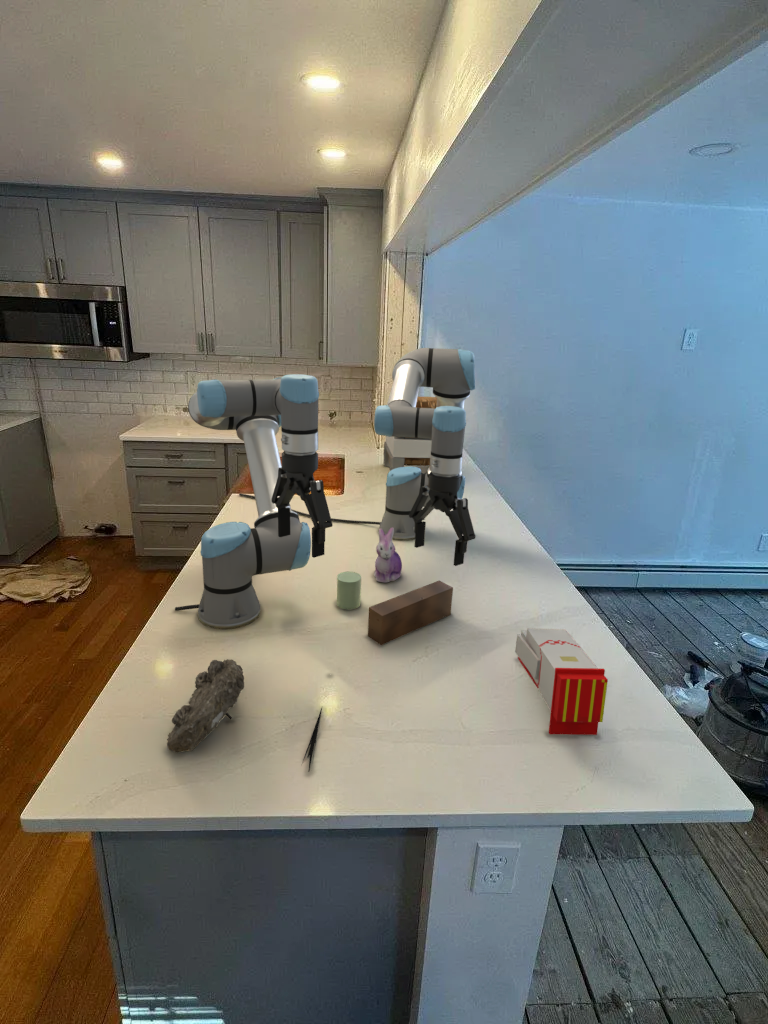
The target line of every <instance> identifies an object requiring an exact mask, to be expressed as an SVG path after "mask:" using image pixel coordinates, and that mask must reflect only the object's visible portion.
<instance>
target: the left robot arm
mask: <svg viewBox="0 0 768 1024" xmlns="http://www.w3.org/2000/svg"><path fill="white" fill-rule="evenodd" d="M196 386H197V388H196V392H194V393H193V394H192V395H191V396H190V399H189V400H188V403H187V410H188V413H189V414H188V415H189V416H190V418H191V419H192V420H193V422H195V423H196V424H197V425H199V426H201V427H204V428H206V429H211V430H216V431H235V432H236V436H237V438H238V439H239V440H241V441H243V443H244V448H245V453H246V459H247V464H248V470H249V474H250V479H251V484H252V490H253V496H255V499H254V501H255V506H256V510H257V516H258V517H257V518H256V519H255V521H254V522H253V527H251V526H250V525H249V524H248V523H246V522H244V521H238V522H237V521H228V522H223V523H219V524H216V525H213V526H212V527H209V528H208V529H207V530H206V531H205V532H203V534H202V536H201V539H200V556H201V563H202V576H203V577H202V579H203V590H202V593H201V598H200V601H199V604H190V605H189V604H188V605H181V606H176V607H174V611H175V612H180V611H187V610H195V609H197V617H198V620H199V622H200V623H201V624H202V625H203V626H205V627H208V628H210V629H214V630H215V629H216V630H232V629H233V630H234V629H238V628H239V629H240V628H243V627H246V626H248V625H250V624H253V622H255V621H257V620H258V618H259V617H260V615H261V612H262V611H261V602H260V600H259V597H258V594H257V592H256V590H255V588H254V586H253V585H254V584H253V576H256V575H257V576H258V575H266V574H271V573H272V574H273V573H279V572H287V571H289V572H291V571H293V570H297V569H302V568H304V567H306V566H307V564H308V563H309V560H310V558H313V559H315V558H317V557H321V556H325V543H326V529H328V528H332V527H333V521H331V518H332V516H331V514H330V509H329V505H328V502H327V497H326V493H325V488H324V487H325V486H324V481H323V479H318V480H315V477H314V474H315V472H316V471H317V470H318V469H319V453H318V452H317V451H318V450H319V398H320V392H319V381H318V379H317V378H316V376H314V375H311V374H310V375H309V374H300V373H299V374H298V373H295V374H292V373H291V374H285V375H282V376H280V377H279V376H278V377H274V378H273V379H272V378H271V379H208V380H207V379H206V380H200V381H199V382H198V383H197V385H196ZM280 427H281V428H280ZM279 431H281V438H280V441H281V450H282V453H281V455H280V452H279V451H280V450H279V446H278V443H277V437H276V435H278V433H279ZM295 495H297V496H298V497H299V498H300V500H301V501H303V502H304V504H305V507H306V509H307V512H308V514H309V515H310V517H309V518H310V520H311V522H312V525H313V527H311V528H310V526H309V523H307V522H305V521H301V520H300V515H299V514H297V513H295V512H294V511H292V510H293V509H292V507H291V501H292V499H293V498H294V497H295ZM291 509H292V510H291ZM310 556H311V557H310Z"/></svg>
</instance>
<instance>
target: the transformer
mask: <svg viewBox="0 0 768 1024" xmlns="http://www.w3.org/2000/svg"><path fill="white" fill-rule="evenodd" d="M436 407H437V398H436V397H435V396H419V395H418V396H417V402H416V408H432V409H435V408H436ZM431 442H432V439H424V438H410V437H392V436H391V437H388V436H385V438H384V442H383V466H384V467H388V468H389V472H390V471H391V470H393V469H396V468H399V467H405V466H406V467H417V466H418V467H430V455H431Z"/></svg>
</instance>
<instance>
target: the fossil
mask: <svg viewBox="0 0 768 1024" xmlns="http://www.w3.org/2000/svg"><path fill="white" fill-rule="evenodd" d="M243 670H244V669H243V667H242V665H240V664H237V662H236V661H235V660H234V659H232V658H231V659H227V658H226V659H224V660H223V661H222V660H217V659H212V660H211V661H210V663H209V665H208V666H207V671H201V672H199V673H198V674H197V675H196V676H195V680H194V684H195V685H194V687H195V689H194V690H193V693H192V694H191V697H190V698H189V700H188V704H184V705H182V706H181V707H180V709H177V710H176V711H175V713H174V715H173V716H172V718H171V723H172V724H173V727H172V730H171V731H170V732H168V734H167V738H166V741H167V742H166V745H167V749H168V750H169V751H173V752H174V753H176V754H178V753H182V752H188V751H189V752H192V751H193V750H195V748H196V747H197V746H199V744H200V743H201V742H203V741H204V740H205V739H206V738H207V737H208V736H209V735H210V734H211V733H212V732H214V730H215V729H217V727H218V726H219V724H220V722H221V721H222V720H223V719H224V718H225V716H226V717H227V719H229V720H233V717H232V715H230V714H229V710H230V709H231V708H234V706H235V704H236V703H237V702H238V699H239V697H240V695H241V693H242V691H243V690H245V689H244V688H245V675H244V671H243Z"/></svg>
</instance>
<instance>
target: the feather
mask: <svg viewBox="0 0 768 1024" xmlns="http://www.w3.org/2000/svg"><path fill="white" fill-rule="evenodd" d="M329 675H330V676H331V675H332V674H331V673H330V674H329ZM322 710H323V707H321V708H320V710H319V713H318V716H317V719H316V723H315V725H314V728H313V731H312V733H311V737H310V739H309V742H308V745H307V748H306V751H305V754H304V757H303V760H302V763H301V767H302V765H303V763H304V761H305V758H308V759H309V760H308V762H307V763H308V764H307V766H308V771H310V770H311V766H312V765H311V764H312V760H313V757H315V756H314V755H315V751H316V749H315V746H317V739H318V733H319V729H320V722H321V717H322V712H323V711H322ZM313 754H314V755H313ZM306 755H307V757H306Z"/></svg>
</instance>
